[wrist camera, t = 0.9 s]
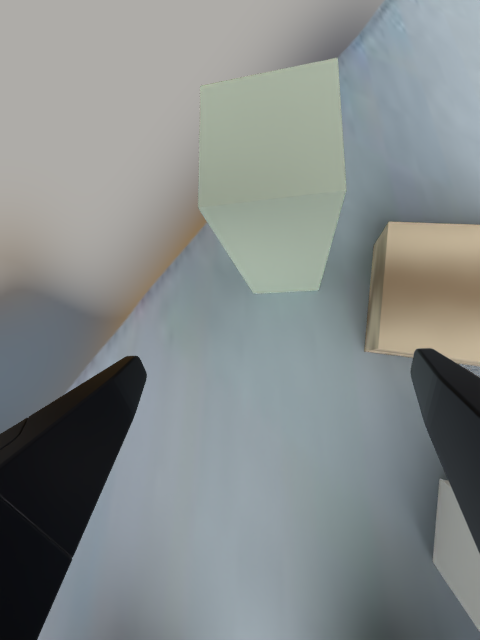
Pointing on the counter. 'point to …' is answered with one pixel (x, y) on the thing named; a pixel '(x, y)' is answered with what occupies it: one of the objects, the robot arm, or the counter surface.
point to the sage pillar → (274, 172)
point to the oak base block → (426, 291)
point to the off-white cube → (457, 552)
